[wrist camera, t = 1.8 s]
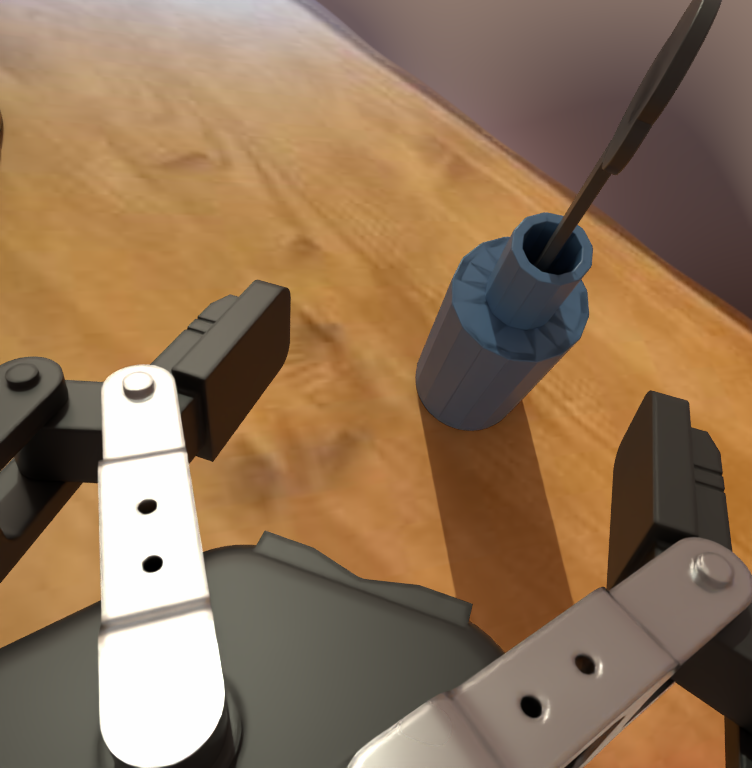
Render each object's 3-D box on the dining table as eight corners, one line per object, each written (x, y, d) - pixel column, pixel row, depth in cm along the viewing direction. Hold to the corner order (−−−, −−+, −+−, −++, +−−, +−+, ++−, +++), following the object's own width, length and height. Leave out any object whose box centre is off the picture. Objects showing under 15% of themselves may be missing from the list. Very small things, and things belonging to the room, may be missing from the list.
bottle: (400, 349, 43) (449, 201, 28) (492, 322, 45) (587, 166, 29) (437, 444, 41) (513, 339, 26) (533, 412, 43) (658, 295, 27)
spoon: (452, 404, 42) (681, 51, 16) (476, 350, 43) (722, -53, 17) (459, 407, 42) (700, 59, 16) (483, 353, 43) (739, -46, 17)
